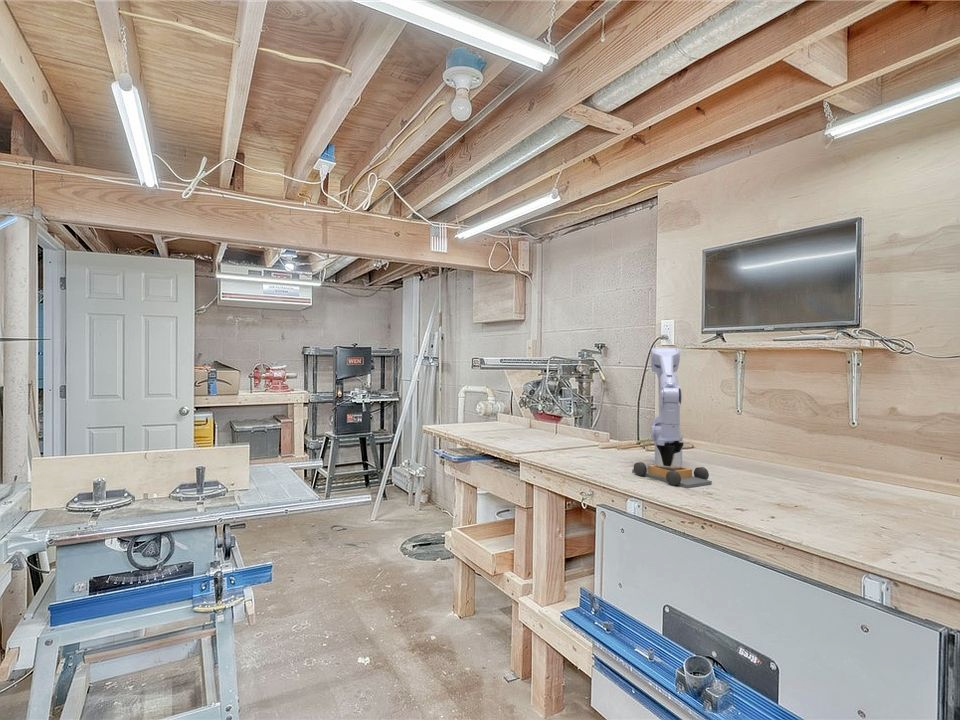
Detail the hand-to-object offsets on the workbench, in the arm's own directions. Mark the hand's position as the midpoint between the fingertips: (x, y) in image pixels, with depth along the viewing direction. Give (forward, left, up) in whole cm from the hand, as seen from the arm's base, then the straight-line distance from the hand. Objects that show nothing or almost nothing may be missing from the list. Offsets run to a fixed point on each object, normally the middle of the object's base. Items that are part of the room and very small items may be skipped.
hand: (670, 464), depth 160 cm
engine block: (0, 0, -2) cm, 2 cm away
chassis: (0, 0, -4) cm, 4 cm away
